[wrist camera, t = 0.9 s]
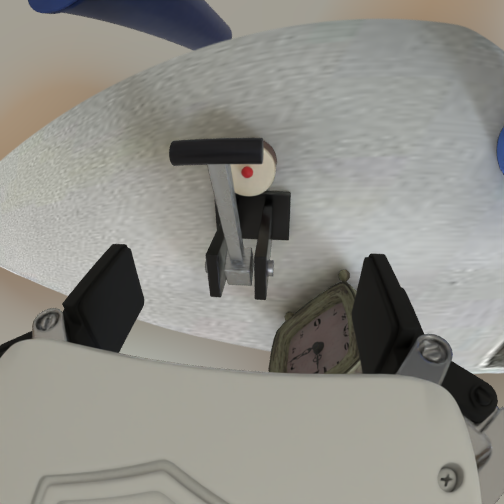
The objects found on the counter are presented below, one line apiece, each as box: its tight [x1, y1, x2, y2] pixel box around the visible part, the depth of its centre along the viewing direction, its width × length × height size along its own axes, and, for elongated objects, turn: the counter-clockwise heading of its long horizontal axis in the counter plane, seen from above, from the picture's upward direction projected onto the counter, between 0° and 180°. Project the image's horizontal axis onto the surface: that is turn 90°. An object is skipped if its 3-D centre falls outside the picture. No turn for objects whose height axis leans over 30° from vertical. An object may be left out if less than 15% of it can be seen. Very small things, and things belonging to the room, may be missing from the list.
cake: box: [230, 141, 277, 196], centre depth 31 cm, size 6×6×6 cm
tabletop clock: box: [269, 270, 363, 374], centre depth 32 cm, size 14×9×25 cm, turn 140°
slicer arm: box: [169, 138, 264, 286], centre depth 21 cm, size 15×5×2 cm, turn 1°
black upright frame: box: [205, 191, 291, 300], centre depth 31 cm, size 6×9×14 cm, turn 91°
